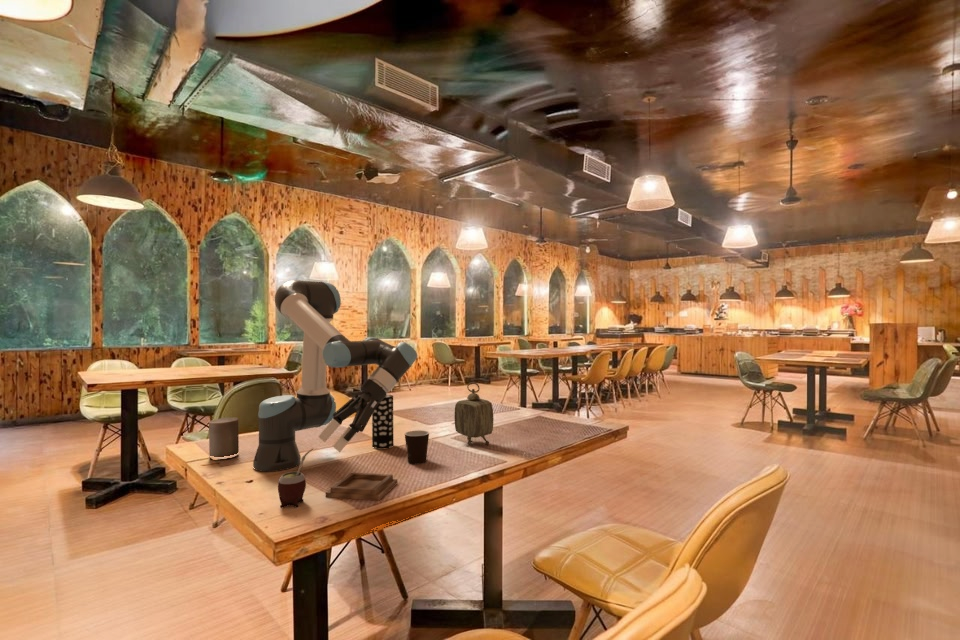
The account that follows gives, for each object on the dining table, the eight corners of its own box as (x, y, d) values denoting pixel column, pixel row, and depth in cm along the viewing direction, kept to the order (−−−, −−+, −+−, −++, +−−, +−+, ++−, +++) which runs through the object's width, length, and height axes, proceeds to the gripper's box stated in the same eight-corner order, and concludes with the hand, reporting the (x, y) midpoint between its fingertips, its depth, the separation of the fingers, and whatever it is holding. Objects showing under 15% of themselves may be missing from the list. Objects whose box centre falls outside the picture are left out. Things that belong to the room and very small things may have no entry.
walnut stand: (325, 496, 130) (325, 487, 130) (348, 480, 143) (348, 472, 143) (379, 500, 127) (379, 490, 127) (397, 483, 141) (397, 474, 141)
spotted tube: (397, 445, 185) (397, 395, 185) (383, 450, 178) (382, 398, 178) (382, 442, 189) (382, 394, 190) (367, 447, 182) (367, 396, 183)
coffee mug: (424, 465, 158) (424, 436, 158) (401, 464, 159) (400, 435, 160) (434, 456, 169) (434, 429, 169) (412, 455, 171) (412, 428, 171)
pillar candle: (244, 453, 175) (244, 414, 175) (227, 461, 165) (227, 419, 165) (220, 453, 176) (220, 414, 176) (202, 460, 166) (202, 419, 166)
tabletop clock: (493, 445, 184) (493, 382, 185) (477, 449, 178) (477, 384, 178) (469, 438, 195) (468, 379, 195) (452, 442, 188) (452, 381, 189)
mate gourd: (273, 504, 124) (273, 449, 125) (301, 496, 130) (301, 443, 130) (285, 512, 119) (285, 454, 120) (314, 503, 125) (314, 448, 125)
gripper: (404, 399, 130) (353, 462, 121) (370, 389, 150) (324, 443, 141) (386, 381, 127) (332, 445, 118) (354, 374, 147) (306, 428, 138)
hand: (328, 444), depth 130 cm, fingers open, 13 cm apart
